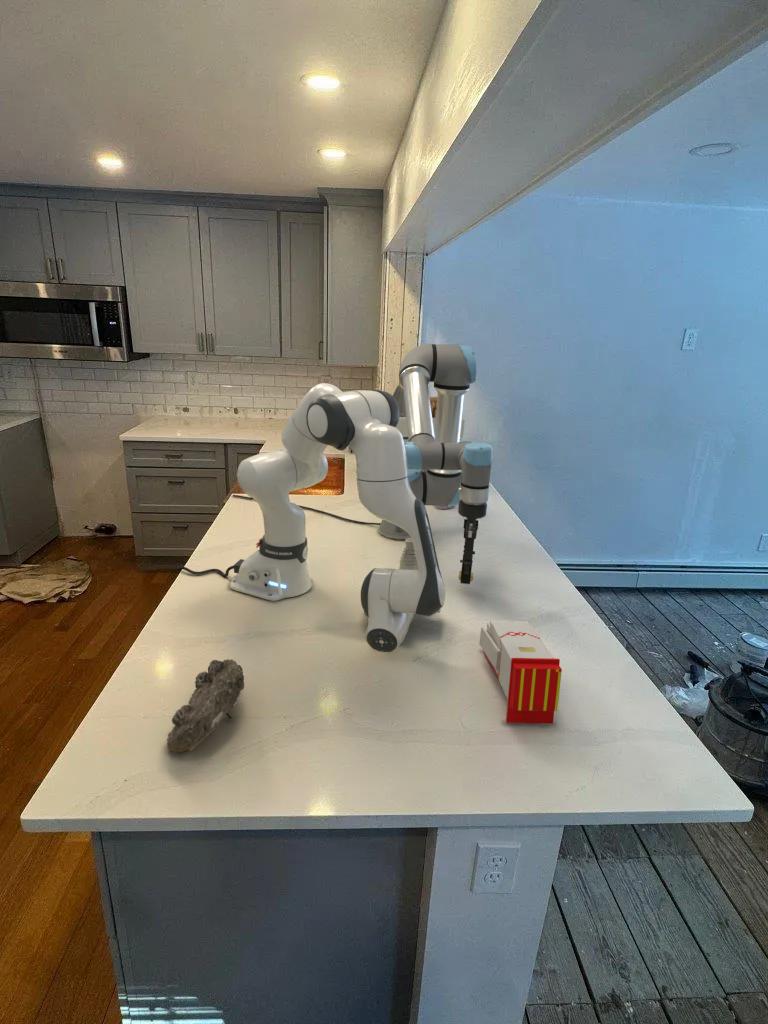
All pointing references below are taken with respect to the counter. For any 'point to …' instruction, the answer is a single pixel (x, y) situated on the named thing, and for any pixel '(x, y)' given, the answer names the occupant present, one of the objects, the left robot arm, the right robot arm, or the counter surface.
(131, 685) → the counter surface
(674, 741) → the counter surface
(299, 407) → the left robot arm
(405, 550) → the bottle
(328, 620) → the counter surface
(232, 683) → the fossil
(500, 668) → the toy
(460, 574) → the cap
